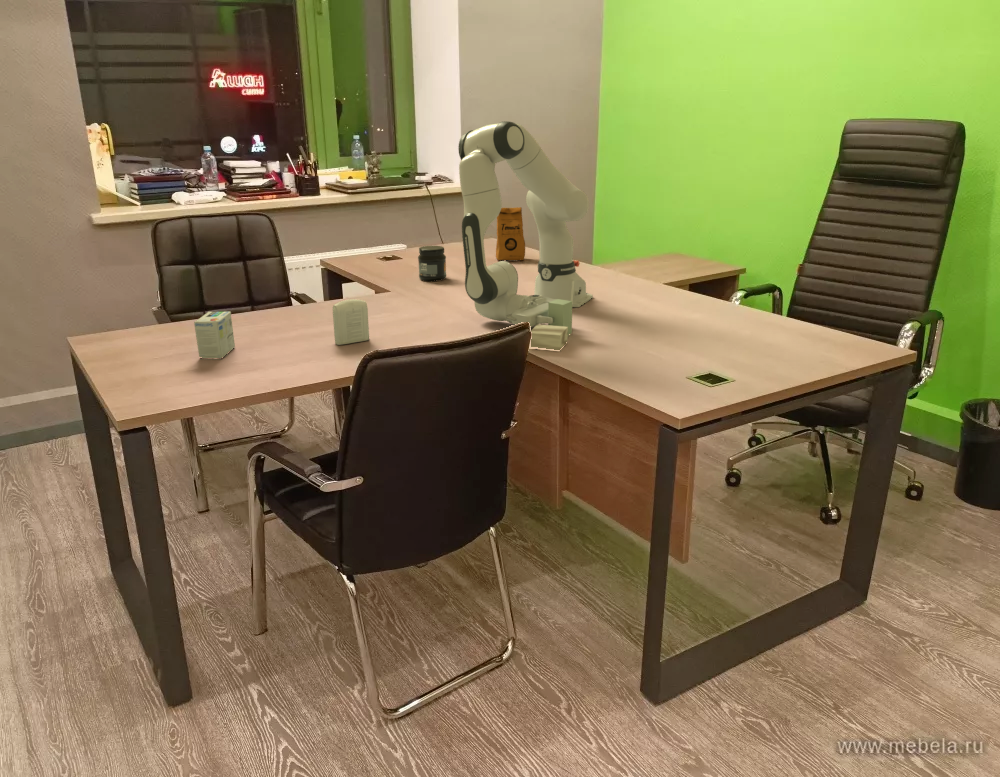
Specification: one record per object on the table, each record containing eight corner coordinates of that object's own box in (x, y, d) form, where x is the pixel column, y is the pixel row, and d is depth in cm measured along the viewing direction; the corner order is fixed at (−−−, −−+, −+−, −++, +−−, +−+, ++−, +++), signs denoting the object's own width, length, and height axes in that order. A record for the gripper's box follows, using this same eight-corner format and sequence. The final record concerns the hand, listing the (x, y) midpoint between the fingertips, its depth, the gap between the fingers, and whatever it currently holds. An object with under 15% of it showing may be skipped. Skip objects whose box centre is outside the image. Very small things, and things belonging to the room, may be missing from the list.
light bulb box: (212, 347, 231) (207, 310, 227) (236, 347, 231) (231, 310, 227) (198, 359, 221) (192, 321, 217) (223, 359, 221) (217, 321, 217)
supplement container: (446, 275, 317) (445, 244, 312) (446, 281, 307) (445, 250, 302) (419, 276, 316) (418, 245, 312) (418, 282, 306) (416, 250, 302)
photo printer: (365, 337, 239) (362, 295, 235) (371, 340, 236) (369, 298, 232) (332, 343, 234) (329, 301, 230) (338, 346, 231) (335, 304, 226)
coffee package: (525, 262, 339) (525, 208, 332) (495, 262, 340) (494, 208, 332) (525, 257, 349) (525, 205, 341) (496, 257, 349) (495, 205, 341)
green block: (557, 331, 242) (557, 299, 239) (571, 334, 240) (572, 301, 236) (548, 335, 239) (548, 302, 235) (562, 338, 236) (563, 304, 232)
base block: (537, 341, 235) (537, 324, 233) (567, 343, 232) (567, 326, 230) (528, 350, 227) (528, 332, 225) (559, 353, 224) (560, 335, 222)
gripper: (502, 307, 236) (542, 314, 228) (541, 293, 251) (579, 299, 243) (502, 328, 238) (542, 335, 230) (540, 313, 253) (579, 319, 246)
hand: (561, 317), depth 237 cm, fingers open, 8 cm apart
